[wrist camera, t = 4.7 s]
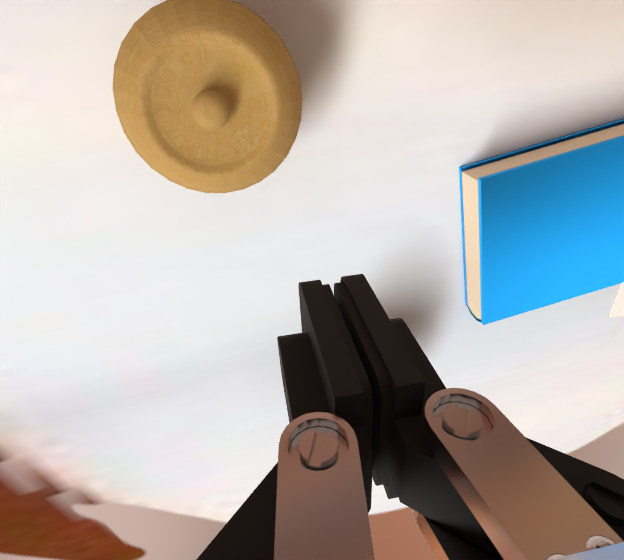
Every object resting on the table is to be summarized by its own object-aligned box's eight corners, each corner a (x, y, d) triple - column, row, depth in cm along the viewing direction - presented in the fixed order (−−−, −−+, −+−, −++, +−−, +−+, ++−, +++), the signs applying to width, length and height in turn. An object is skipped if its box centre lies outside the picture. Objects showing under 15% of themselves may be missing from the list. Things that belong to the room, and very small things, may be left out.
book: (478, 180, 36) (757, 96, 36) (455, 166, 39) (708, 90, 39) (483, 330, 45) (705, 263, 45) (464, 308, 48) (670, 246, 48)
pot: (101, 28, 29) (50, 26, 20) (262, -22, 29) (277, -45, 21) (174, 185, 35) (158, 234, 27) (306, 143, 35) (332, 177, 27)
